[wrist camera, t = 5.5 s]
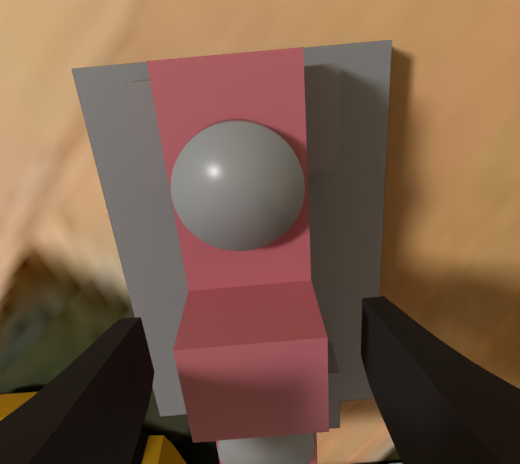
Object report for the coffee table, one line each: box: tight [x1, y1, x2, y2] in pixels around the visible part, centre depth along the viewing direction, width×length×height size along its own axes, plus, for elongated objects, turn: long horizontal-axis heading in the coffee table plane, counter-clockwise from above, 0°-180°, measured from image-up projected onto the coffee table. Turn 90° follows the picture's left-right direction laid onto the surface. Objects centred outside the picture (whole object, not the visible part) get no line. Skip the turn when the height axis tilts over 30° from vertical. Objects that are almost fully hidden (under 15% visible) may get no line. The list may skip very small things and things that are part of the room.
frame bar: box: [147, 47, 329, 464], centre depth 11 cm, size 15×4×4 cm, turn 5°
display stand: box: [72, 40, 392, 429], centre depth 15 cm, size 15×10×3 cm, turn 5°
